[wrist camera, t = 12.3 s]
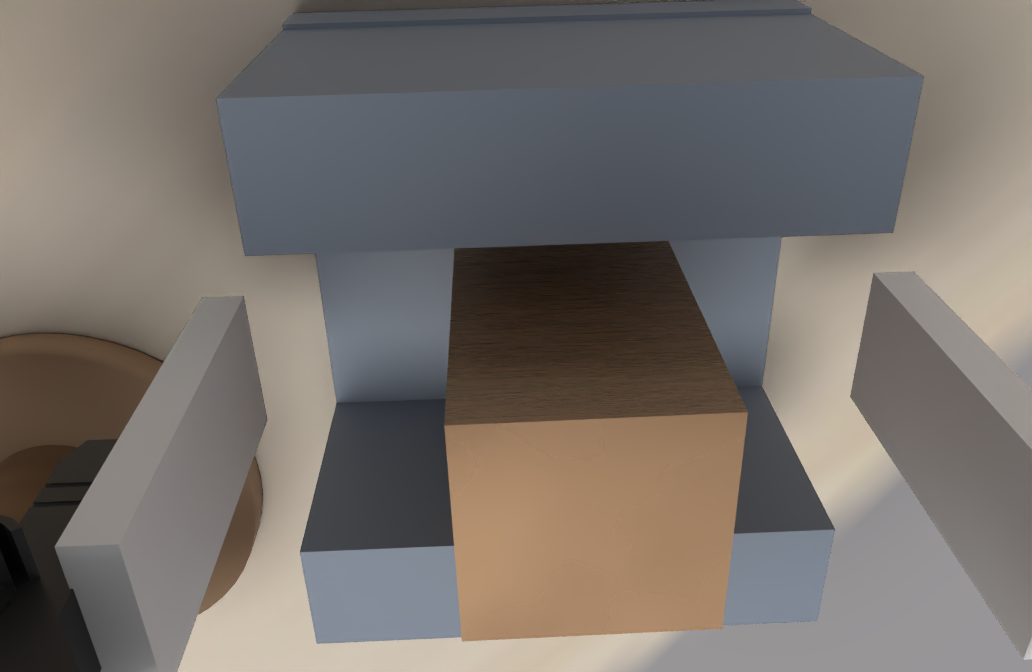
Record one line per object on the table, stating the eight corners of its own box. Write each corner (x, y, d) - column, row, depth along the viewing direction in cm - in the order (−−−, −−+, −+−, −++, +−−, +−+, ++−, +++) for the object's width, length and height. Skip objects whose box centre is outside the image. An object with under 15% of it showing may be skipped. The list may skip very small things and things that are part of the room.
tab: (456, 204, 19) (444, 425, 12) (647, 197, 19) (748, 411, 12) (466, 368, 21) (461, 641, 14) (640, 361, 21) (722, 628, 14)
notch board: (294, 13, 18) (214, 91, 13) (792, -3, 18) (925, 69, 13) (354, 458, 23) (317, 647, 18) (738, 442, 24) (816, 624, 18)
